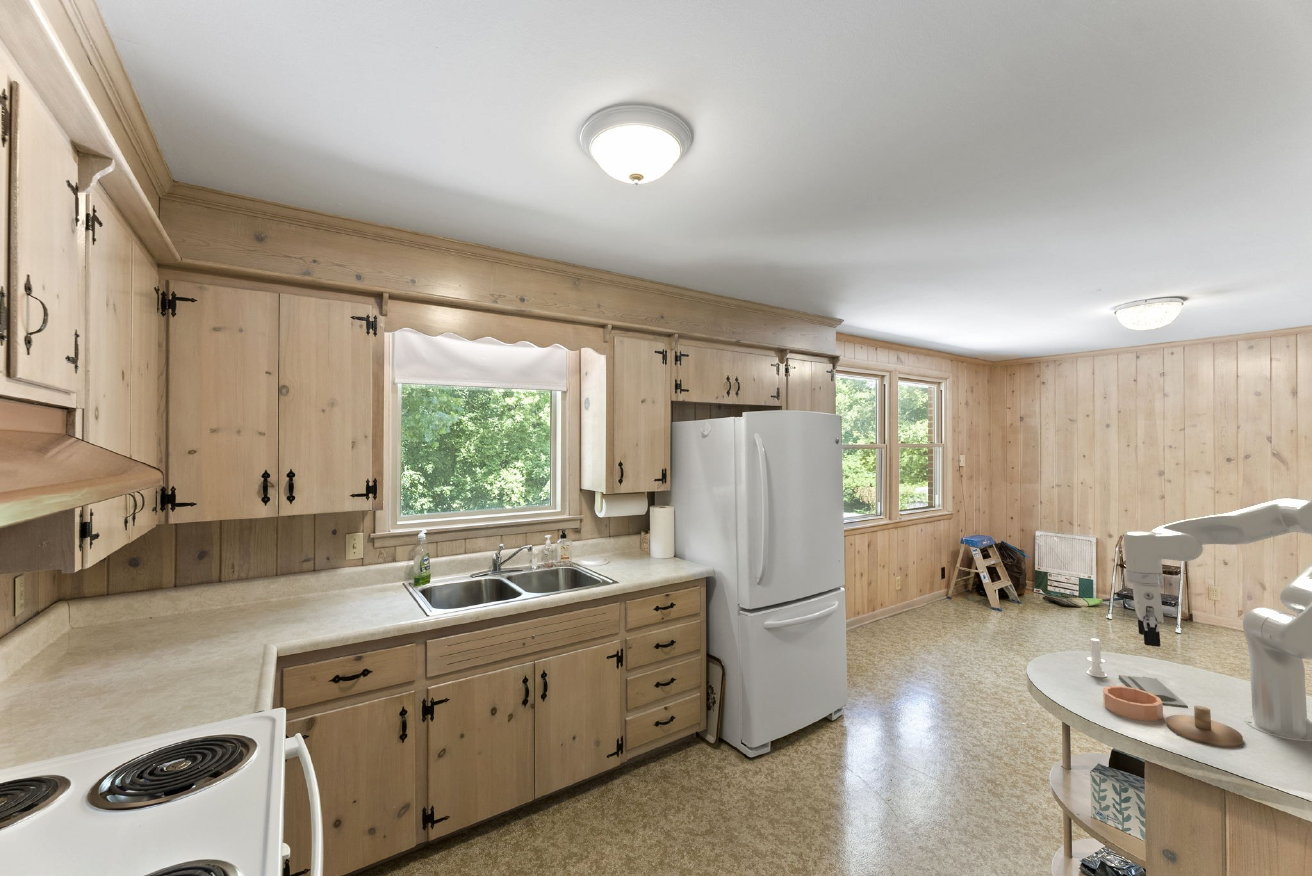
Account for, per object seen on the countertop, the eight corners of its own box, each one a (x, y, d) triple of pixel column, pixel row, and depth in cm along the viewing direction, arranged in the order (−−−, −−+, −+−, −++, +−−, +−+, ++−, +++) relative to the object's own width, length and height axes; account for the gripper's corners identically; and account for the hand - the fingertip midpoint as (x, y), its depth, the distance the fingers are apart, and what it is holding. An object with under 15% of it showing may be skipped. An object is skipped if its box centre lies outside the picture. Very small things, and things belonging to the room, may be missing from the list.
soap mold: (1158, 684, 173) (1158, 673, 173) (1190, 713, 155) (1189, 700, 155) (1118, 680, 177) (1117, 669, 178) (1144, 707, 159) (1143, 695, 159)
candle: (1086, 669, 185) (1085, 633, 185) (1107, 673, 181) (1105, 636, 182) (1086, 675, 181) (1084, 638, 181) (1107, 679, 177) (1105, 641, 178)
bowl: (1157, 709, 157) (1156, 691, 157) (1167, 728, 146) (1166, 709, 146) (1101, 699, 163) (1100, 682, 164) (1107, 717, 153) (1106, 699, 153)
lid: (1232, 727, 144) (1231, 703, 144) (1252, 752, 132) (1250, 726, 132) (1160, 714, 152) (1159, 692, 152) (1173, 737, 140) (1172, 713, 140)
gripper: (1169, 585, 142) (1174, 652, 142) (1157, 572, 156) (1161, 632, 156) (1131, 583, 146) (1136, 647, 146) (1122, 569, 161) (1127, 629, 160)
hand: (1149, 640), depth 151 cm, fingers open, 9 cm apart
